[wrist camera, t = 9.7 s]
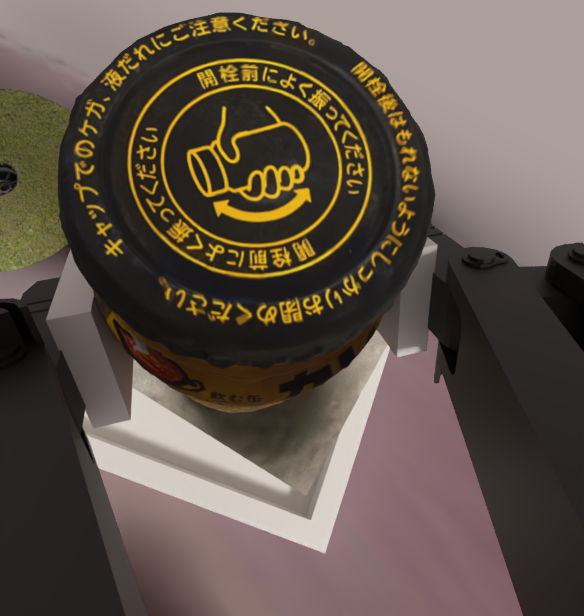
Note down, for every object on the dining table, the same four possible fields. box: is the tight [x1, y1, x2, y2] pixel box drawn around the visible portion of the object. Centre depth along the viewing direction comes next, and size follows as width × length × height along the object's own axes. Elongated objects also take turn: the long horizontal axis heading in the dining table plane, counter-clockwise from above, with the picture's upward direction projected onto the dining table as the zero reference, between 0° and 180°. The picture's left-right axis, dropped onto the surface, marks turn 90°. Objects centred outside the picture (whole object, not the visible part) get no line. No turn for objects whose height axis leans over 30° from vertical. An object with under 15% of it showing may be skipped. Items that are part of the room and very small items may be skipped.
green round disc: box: [0, 89, 70, 272], centre depth 27 cm, size 11×11×2 cm
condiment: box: [58, 13, 435, 496], centre depth 12 cm, size 7×8×12 cm
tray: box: [82, 345, 390, 553], centre depth 26 cm, size 16×14×2 cm
